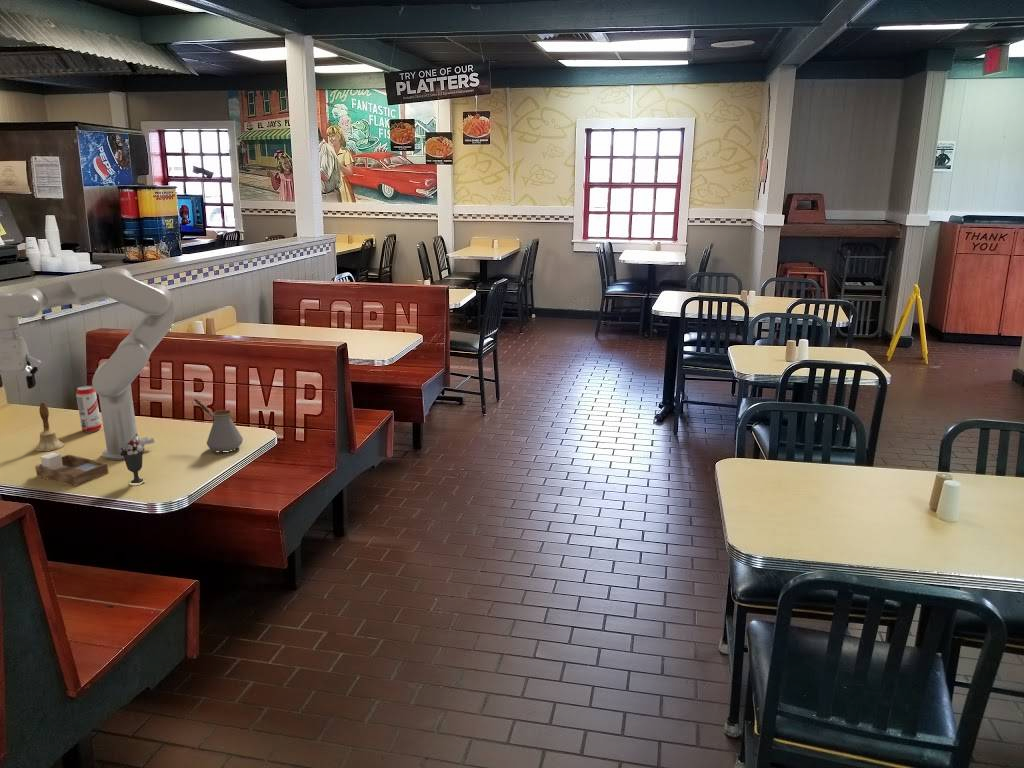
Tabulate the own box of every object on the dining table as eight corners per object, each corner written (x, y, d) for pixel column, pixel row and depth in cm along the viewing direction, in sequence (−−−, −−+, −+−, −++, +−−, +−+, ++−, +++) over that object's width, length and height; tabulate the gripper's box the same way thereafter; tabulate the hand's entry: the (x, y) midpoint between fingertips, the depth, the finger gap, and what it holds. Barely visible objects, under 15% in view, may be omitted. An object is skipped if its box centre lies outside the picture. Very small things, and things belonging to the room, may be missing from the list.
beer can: (78, 432, 274) (70, 389, 270) (92, 426, 280) (85, 384, 276) (92, 433, 273) (85, 390, 268) (105, 428, 278) (99, 386, 274)
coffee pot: (250, 447, 260) (246, 405, 256) (220, 457, 251) (216, 414, 247) (213, 434, 272) (208, 394, 268) (183, 444, 263) (178, 402, 259)
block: (42, 468, 236) (40, 456, 235) (54, 464, 240) (52, 452, 239) (50, 471, 235) (48, 458, 233) (63, 466, 238) (60, 454, 237)
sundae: (152, 477, 235) (146, 431, 231) (143, 486, 229) (136, 439, 224) (131, 478, 235) (124, 432, 231) (121, 487, 228) (113, 440, 224)
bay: (75, 474, 237) (74, 468, 237) (89, 469, 241) (88, 463, 241) (86, 477, 235) (85, 471, 235) (99, 472, 239) (98, 465, 239)
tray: (37, 475, 237) (35, 466, 236) (70, 463, 246) (68, 454, 245) (75, 486, 229) (74, 476, 228) (108, 473, 239) (106, 463, 238)
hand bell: (47, 442, 264) (39, 398, 260) (69, 443, 263) (61, 399, 259) (29, 451, 256) (21, 405, 252) (52, 452, 255) (43, 407, 251)
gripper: (-32, 336, 229) (-21, 391, 233) (29, 336, 230) (38, 390, 235) (-18, 331, 236) (-7, 384, 241) (41, 330, 237) (50, 383, 242)
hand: (15, 387), depth 238 cm, fingers open, 9 cm apart
